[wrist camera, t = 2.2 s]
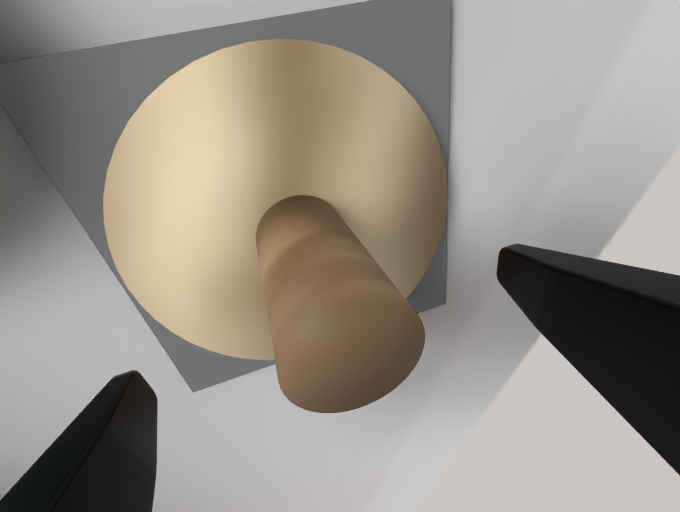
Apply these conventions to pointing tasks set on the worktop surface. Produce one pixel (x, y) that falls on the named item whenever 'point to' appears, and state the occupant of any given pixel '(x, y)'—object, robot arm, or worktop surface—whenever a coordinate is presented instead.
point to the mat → (171, 56)
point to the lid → (283, 215)
